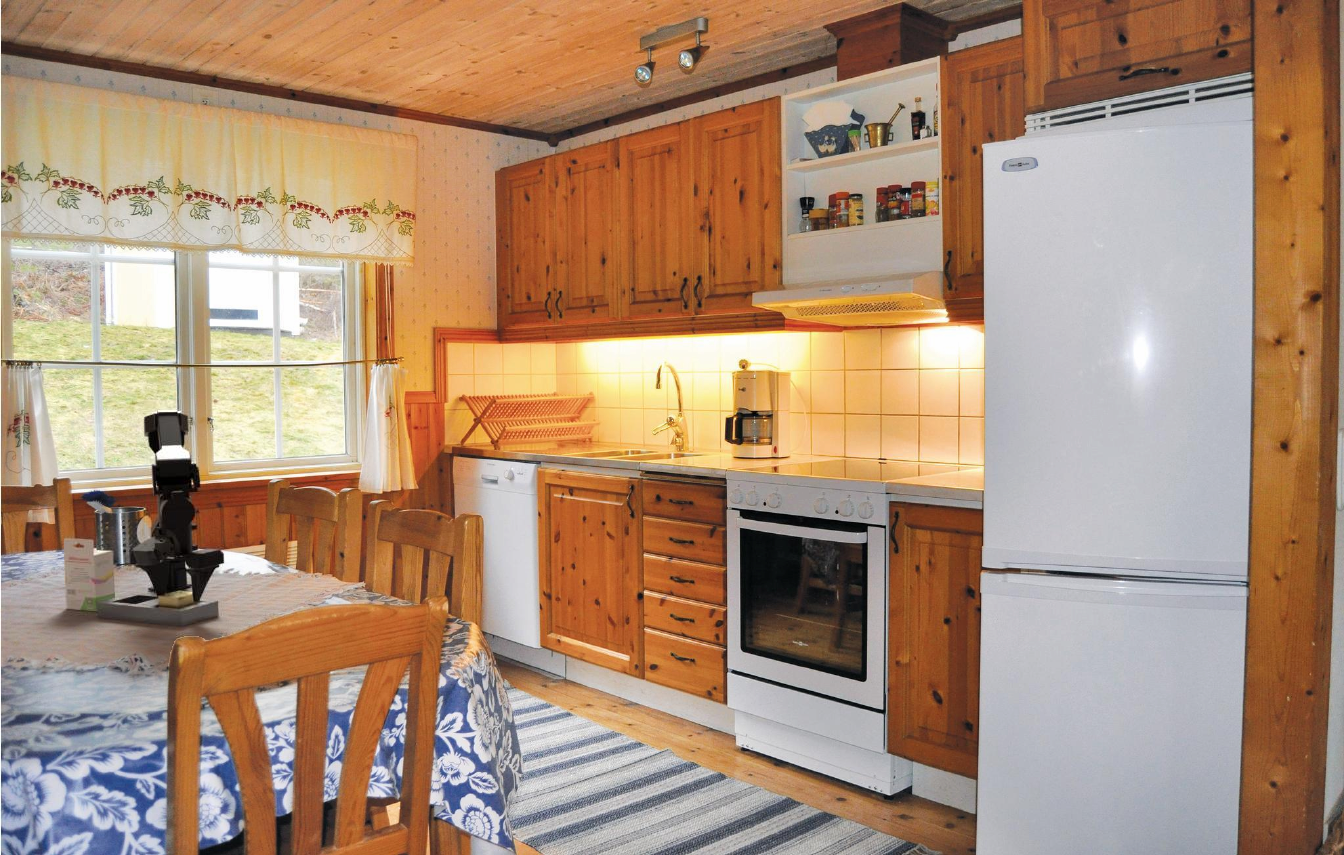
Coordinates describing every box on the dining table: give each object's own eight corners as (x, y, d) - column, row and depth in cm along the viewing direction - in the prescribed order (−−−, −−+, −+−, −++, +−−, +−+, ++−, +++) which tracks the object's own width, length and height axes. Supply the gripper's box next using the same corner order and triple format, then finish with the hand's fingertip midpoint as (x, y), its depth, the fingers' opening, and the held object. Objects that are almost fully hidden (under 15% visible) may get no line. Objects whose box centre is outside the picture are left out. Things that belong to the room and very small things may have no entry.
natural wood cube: (159, 621, 197) (158, 595, 197) (180, 615, 201) (179, 590, 201) (178, 623, 195) (177, 597, 195) (199, 617, 200) (198, 592, 199)
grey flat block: (97, 617, 200) (97, 602, 200) (136, 607, 208) (135, 592, 208) (182, 626, 192) (181, 611, 192) (218, 615, 200) (218, 600, 200)
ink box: (117, 606, 209) (114, 536, 208) (96, 612, 204) (93, 539, 203) (85, 603, 212) (82, 534, 211) (64, 609, 207) (61, 537, 206)
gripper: (104, 524, 193) (107, 605, 194) (178, 529, 186) (181, 613, 187) (153, 516, 203) (156, 592, 204) (224, 520, 197) (227, 599, 198)
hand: (178, 599), depth 198 cm, fingers open, 9 cm apart
